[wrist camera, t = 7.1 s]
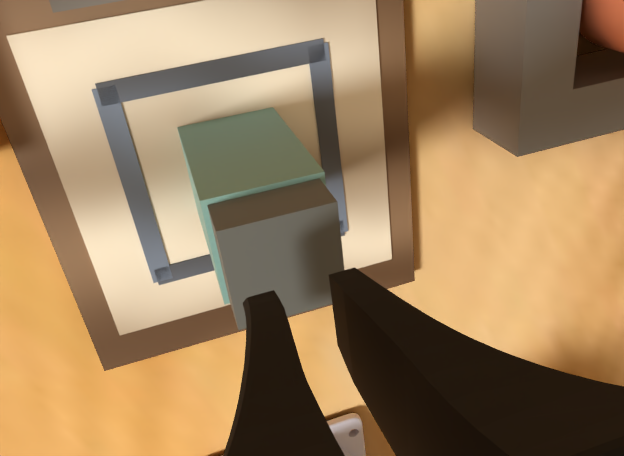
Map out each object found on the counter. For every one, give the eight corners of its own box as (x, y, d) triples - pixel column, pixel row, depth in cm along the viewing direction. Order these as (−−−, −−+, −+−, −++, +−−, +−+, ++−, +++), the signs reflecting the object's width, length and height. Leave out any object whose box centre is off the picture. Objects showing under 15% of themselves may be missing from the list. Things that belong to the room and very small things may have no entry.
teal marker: (285, 192, 21) (353, 302, 15) (197, 213, 21) (233, 336, 15) (272, 107, 20) (342, 194, 14) (177, 127, 19) (207, 227, 13)
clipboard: (408, 273, 26) (425, 293, 24) (104, 360, 23) (104, 388, 22) (390, -126, 18) (412, -128, 17) (-67, -59, 16) (-84, -55, 14)
